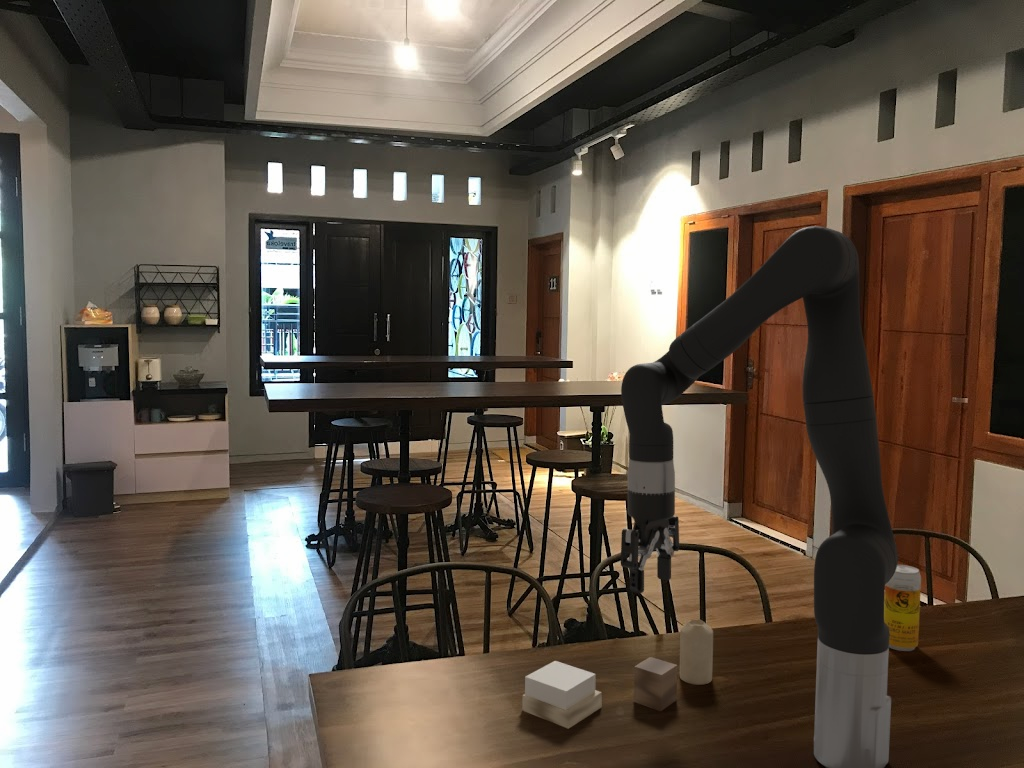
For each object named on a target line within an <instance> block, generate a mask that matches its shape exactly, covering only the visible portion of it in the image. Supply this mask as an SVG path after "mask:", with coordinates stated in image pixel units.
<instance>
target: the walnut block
mask: <svg viewBox="0 0 1024 768" xmlns="http://www.w3.org/2000/svg"><path fill="white" fill-rule="evenodd" d="M633 673H634V676H633V702H634V703H636V704H638V705H642V706H645V707H647V708H649V709H652V710H656V711H658V712H662V711H663V710H665V709H666V708H668V707H670V706H671V705H672V704H674V703H675V702H676V701H677V696H678V695H677V689H678V665H677V664H676V663H672V662H669V661H665V660H661V659H659V658H655V657H652V656H649V657H647V658H646V659H643V661H641V662H640V663H638V664H636V665H635V666H634V672H633Z"/></svg>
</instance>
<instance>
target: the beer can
mask: <svg viewBox="0 0 1024 768" xmlns="http://www.w3.org/2000/svg"><path fill="white" fill-rule="evenodd" d="M921 589H922V575H921V573H920V569H919V568H917V567H914V566H911V565H910V566H909V565H905V564H897V568H896V571H895V573H894V575H893V577H892V578H891V579H890V581H889V582H888V583H886V584H885V594H884V622H885V623H886V624H887V626H888V628H889V649H893V650H896V651H900V652H902V651H903V652H912V651H914V650H915V649H916V647H918V646H919V633H920V631H919V630H920V610H921V592H922V591H921Z"/></svg>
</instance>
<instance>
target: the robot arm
mask: <svg viewBox="0 0 1024 768" xmlns="http://www.w3.org/2000/svg"><path fill="white" fill-rule="evenodd" d="M854 244H855V243H854V242H853V241H852V240H851V239H850V238H849V237H848V236H847V235H846V234H845V233H843V232H840V231H839V230H835V229H832V228H829V227H823V226H819V225H815V226H811V225H810V226H807V227H803V228H801V229H798V230H796V231H795V232H793V233H792V234H791V235H789V237H788V238H786V240H785V241H784V242H783V243H782V244H780V246H779V247H778V248H776V250H775V251H774V252H773V253H772V254H771V255H770V257H768V259H767V260H766V261H765V262H764V263H763V264H762V265H761V266H760V268H758V269H757V270H756V271H755V272H754V273H753V274H752V275H751V276H750V277H749V278H748V279H747V280H746V281H745V282H744V283H743V284H742V285H740V286H739V287H738V288H737V289H736V290H735V291H734V292H733V293H732V294H731V295H729V296H728V297H727V298H726V299H724V301H722V302H721V303H720V304H718V305H717V306H716V307H714V308H713V309H712V310H711V311H709V312H707V314H705V315H704V316H702V318H700V319H699V320H698V321H696V322H695V323H693V324H692V325H691V326H689V327H688V328H687V329H685V330H684V331H683V332H681V333H680V334H679V335H678V336H677V337H675V339H673V341H671V343H670V345H669V348H668V351H667V352H665V353H664V354H663V355H662V356H661V357H660V358H658V359H657V360H655V361H653V362H644V363H637V364H635V365H633V366H631V367H630V368H628V370H626V372H625V374H624V376H623V378H622V381H621V388H620V392H621V393H620V395H621V396H620V397H621V402H622V407H623V413H624V416H625V417H624V418H625V422H626V426H627V428H628V434H629V435H628V436H629V438H628V439H629V440H628V458H629V459H628V466H627V515H628V516H629V517H631V518H632V519H633V521H634V522H633V527H632V529H629V528H628V529H627V528H623V529H622V530H621V538H620V539H621V545H620V547H621V548H620V566H621V567H622V568H628V570H629V590H630V592H631V593H634V594H639V595H640V594H642V593H644V591H645V566H646V563H647V560H648V559H650V558H651V557H652V554H653V552H654V551H656V553H657V555H658V556H657V558H656V559H657V560H656V561H657V564H656V566H657V571H656V572H657V574H656V575H657V578H658V580H662V581H666V582H667V581H670V580H671V579H672V558H673V557H674V555H675V552H679V550H680V527H679V526H680V525H679V524H680V523H679V522H680V521H679V516H677V515H675V514H676V510H675V509H676V498H675V497H676V474H675V473H676V471H675V464H674V431H673V428H672V426H671V425H670V424H668V423H666V422H665V420H664V413H663V412H664V411H663V406H664V405H667V404H669V403H671V402H673V401H674V400H676V399H677V398H679V397H680V396H681V395H683V394H684V393H685V392H687V390H688V389H689V388H690V387H691V386H692V385H693V384H694V383H695V382H697V380H698V379H699V377H701V376H702V375H704V374H706V373H708V372H709V371H710V370H711V369H714V368H715V367H716V366H717V365H718V364H720V363H721V362H723V361H724V360H725V359H726V358H728V357H730V356H731V355H732V354H733V353H735V351H737V350H738V349H739V348H740V347H742V345H744V343H745V342H746V341H747V340H748V339H749V338H750V337H751V336H752V335H753V334H754V333H755V332H756V330H758V328H760V327H761V325H762V324H764V323H765V322H766V321H767V320H769V319H770V318H771V317H772V316H774V315H775V314H777V313H778V312H780V311H781V310H782V309H784V308H785V307H787V306H789V305H791V304H793V303H795V302H797V301H798V300H800V299H802V301H803V307H804V311H805V317H806V324H807V344H806V351H805V359H804V365H803V372H802V373H803V374H802V403H803V410H804V411H803V413H804V420H805V426H806V432H807V436H808V440H809V443H810V447H811V449H812V451H813V453H814V456H815V458H816V461H817V463H818V465H819V467H820V470H821V472H822V473H823V477H824V479H825V481H826V484H827V487H828V491H829V497H830V498H829V499H830V505H831V516H832V517H831V518H832V535H830V536H828V537H827V538H825V539H824V540H823V541H822V542H821V544H820V545H819V547H818V548H817V551H816V554H815V559H814V568H813V615H814V619H815V622H816V625H817V644H816V645H817V647H816V648H817V650H816V677H815V702H814V703H815V705H814V728H813V729H814V730H813V731H814V732H813V733H814V735H813V755H814V758H815V759H816V761H817V762H819V764H821V765H822V766H824V767H825V768H885V767H886V765H887V764H888V763H889V757H890V755H889V754H890V737H891V734H890V733H891V716H892V715H891V713H892V712H891V711H892V710H891V709H892V708H891V707H892V697H891V696H890V695H888V679H889V678H888V676H889V675H888V673H889V670H888V669H889V653H890V651H889V650H890V647H889V628H888V626H887V624H886V623H885V622H884V600H885V584H886V583H888V582H889V581H890V579H891V578H892V577H893V575H894V573H895V571H896V568H897V565H898V559H899V556H898V550H897V545H896V539H895V537H894V533H893V529H892V525H891V521H890V517H889V512H888V509H887V505H886V500H885V496H884V495H885V494H884V490H883V489H884V488H883V483H882V482H883V481H882V466H881V463H882V462H881V453H880V443H879V437H878V435H879V434H878V425H877V424H878V422H877V416H876V415H877V413H876V407H875V400H874V399H875V397H874V392H873V391H874V390H873V387H872V381H871V380H872V379H871V373H870V369H869V367H870V366H869V362H868V357H867V356H868V355H867V351H866V346H865V341H864V340H865V339H864V336H863V329H862V324H861V311H860V310H861V308H860V305H861V304H860V259H859V254H858V251H857V248H856V245H854ZM628 554H629V556H628Z"/></svg>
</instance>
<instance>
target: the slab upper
mask: <svg viewBox="0 0 1024 768" xmlns="http://www.w3.org/2000/svg"><path fill="white" fill-rule="evenodd" d="M596 676H597V675H596V673H593V672H592V671H589V670H588V671H587V670H586V669H582V668H579V667H575V666H572V665H569V664H567V663H563V662H560V661H558V660H554V661H552V662H550V663H548V664H546V665H544V666H542V667H541V668H539V669H536V670H535V671H533V672H532V673H529V674H528V675H525V677H524V681H525V682H524V694H525V695H526V696H529V697H532V698H534V699H537V700H540V701H542V702H545V703H548V704H550V705H553V706H556V707H558V708H561V709H564V710H568V709H569V708H571V707H572V706H574V705H576V704H577V703H579V702H580V701H582V700H584V699H585V698H587V697H588V696H590V695H592V694H593V693H595V690H596V681H597V680H596V678H597V677H596Z"/></svg>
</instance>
